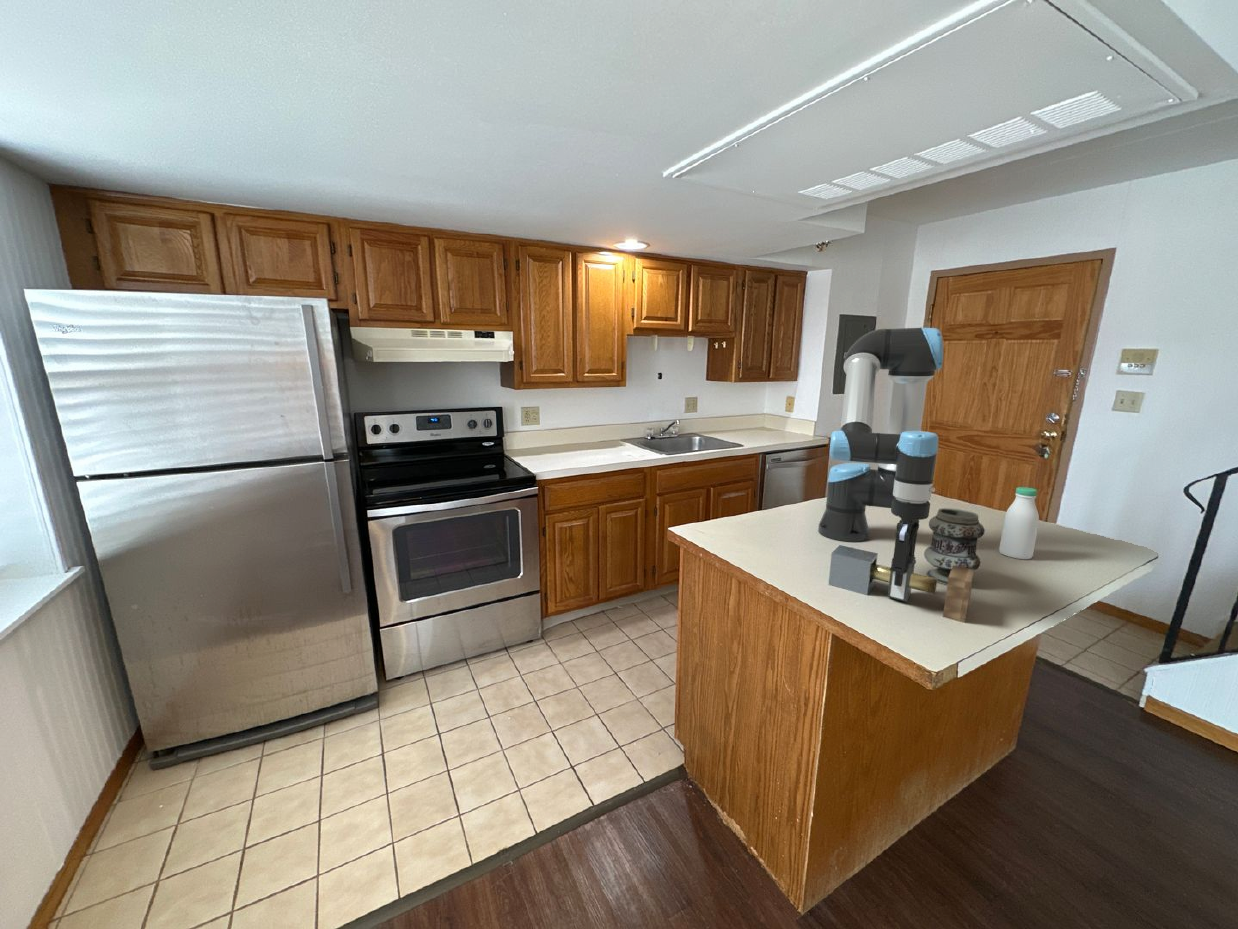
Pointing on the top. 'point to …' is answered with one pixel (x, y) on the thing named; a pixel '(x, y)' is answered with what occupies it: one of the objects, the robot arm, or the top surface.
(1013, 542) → the milk bottle
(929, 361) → the robot arm
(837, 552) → the sleeve
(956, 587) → the socket block
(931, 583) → the tube
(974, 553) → the apothecary jar
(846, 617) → the top surface
